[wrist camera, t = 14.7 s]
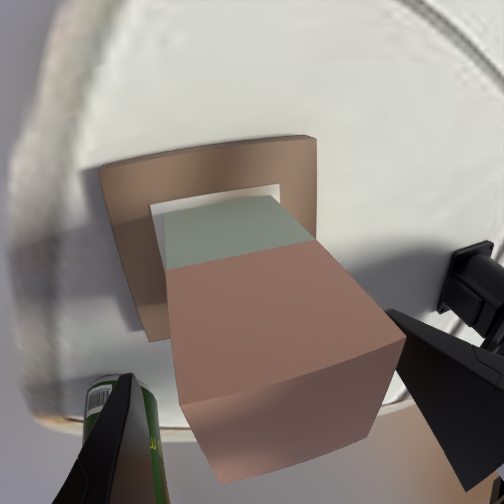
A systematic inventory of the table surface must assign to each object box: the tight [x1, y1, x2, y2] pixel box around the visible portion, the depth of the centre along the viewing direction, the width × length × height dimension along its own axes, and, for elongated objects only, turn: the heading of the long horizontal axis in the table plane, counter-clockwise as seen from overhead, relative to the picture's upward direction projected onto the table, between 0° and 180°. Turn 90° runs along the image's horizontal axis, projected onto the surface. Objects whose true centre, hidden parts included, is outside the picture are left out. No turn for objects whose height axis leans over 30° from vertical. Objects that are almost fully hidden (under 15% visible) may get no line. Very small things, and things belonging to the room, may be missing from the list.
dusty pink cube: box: [165, 240, 406, 484], centre depth 9 cm, size 5×5×5 cm
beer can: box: [82, 375, 170, 504], centre depth 15 cm, size 5×5×12 cm
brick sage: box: [164, 195, 316, 270], centre depth 13 cm, size 5×5×5 cm
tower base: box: [98, 135, 317, 342], centre depth 16 cm, size 10×10×1 cm
